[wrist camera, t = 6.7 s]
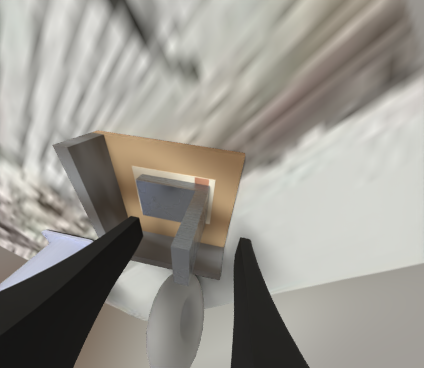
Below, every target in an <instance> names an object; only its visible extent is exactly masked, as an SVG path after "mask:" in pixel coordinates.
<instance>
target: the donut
mask: <svg viewBox="0 0 424 368" xmlns="http://www.w3.org/2000/svg"><path fill="white" fill-rule="evenodd" d="M203 320H204V301H203V294H202V289H201V285H200V283H199V281H198V279H197V277H196V276H195V275H194V274H192V275H191V279H190V283H189V286H185V285H181V284H177V283H174V279H173V274H172V275H170V276H169V277H168V278H167V279H166V280H165V282H164V283H163V284H162V285H161V287H160V289H159V291H158V293H157V295H156V297H155V299H154V301H153V305H152V308H151V311H150V314H149V320H148V326H147V332H146V335H147V336H146V341H147V342H146V343H147V344H146V348H147V356H148V360H149V364H150V368H190V366H191V364H192V362H193V361H194V359H195V357H196V353H197V350H198V347H199V344H200V340H201V335H202V330H203Z"/></svg>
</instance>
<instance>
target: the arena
mask: <svg viewBox="0 0 424 368" xmlns="http://www.w3.org/2000/svg"><path fill="white" fill-rule="evenodd" d="M53 147H54V149H55V151H56V153H57V155H58V157H59V159H60V161H61V163H62V165H63V167H64V169H65V171H66V173H67V175H68V177H69V179H70V181H71V183H72V185H73V187H74V189H75V191H76V193H77V195H78V197H79V199H80V201H81V203H82V205H83V207H84V209H85V211H86V213H87V215H88V217H89V219H90V221H91V223H92V225H93V227H94V229H95V231H96V233H97V235H98V237H99V238H100V237H101V236H103V235H104V234H106V233H107V232H108V231H110V230H111V229H113V228H114V227H116V226H117V225H118V224H120V223H121V222H123V221H124V220H126V219H127V218H129V217H130V216H135V217H139V219H140V223H141V227H142V232H143V238H142V240H141V242H140V244H139V246H138V248H137V250H136V252H135V253H134V255H133V256H132V258H131V259H130V260H132V261H136V262H141V263H145V264H150V265H154V266H159V267H163V268H168V269H172V270H173V268H172V257H171V244H172V242H173V240H174V238H175V235H176V233H177V231H178V229H179V226H180V224H181V223H180V222H175V221H171V220H166V219H161V218H156V217H151V216H146V215H143V212H142V208H141V203H140V198H139V194H138V189H137V185H136V179H137V178H138V177H139V176H140V175H141V174H146V175H151V176H157V177H163V178H168V179H174V180H180V181H185V182H191V183H197V184H202V185H208V186H210V192H209V201H208V210H207V219H206V223H205V227H204V231H203V234H202V238H201V242H200V246H199V249H198V253H197V257H196V260H195V264H194V268H193V272H192V274H194V275H199V276H203V277H208V278H212V279H217V280H220V276H221V268H222V259H223V250H224V244H225V240H226V236H227V232H228V227H229V223H230V219H231V215H232V210H233V206H234V202H235V198H236V193H237V189H238V185H239V180H240V176H241V172H242V168H243V163H244V159H245V153H240V152H234V151H227V150H221V149H214V148H208V147H201V146H195V145H188V144H182V143H175V142H169V141H162V140H156V139H149V138H143V137H136V136H130V135H123V134H117V133H110V132H104V131H95V132H92V133H89V134H86V135H82V136H79V137H76V138H73V139H70V140H67V141H64V142H61V143H58V144H54V145H53Z"/></svg>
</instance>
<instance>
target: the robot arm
mask: <svg viewBox="0 0 424 368" xmlns="http://www.w3.org/2000/svg"><path fill="white" fill-rule="evenodd" d="M42 234H43V235H44V236H45V238H46V239H47V240H48V241H49V244H48V245H47V246H46V247H45V248H43V249H42V250H41V251H40V252H38V253H37V254H36V255H35V256H34V257H32V258H31V259H30V260H29V261H28V262H26V263H25V264H24V265H23V266H22V267H21V268H19V269H18V270H17V271H16V272H14V273H13V274H12V275H11V276H10V277H8V278H7V279H6V280H5V281H3V282H2V283H1V284H0V368H73V367H74V364H75V362H76V360H77V358H78V356H79V353H80V351H81V349H82V347H83V344H84V342H85V340H86V338H87V336H88V333H89V332H90V330H91V328H92V326H93V324H94V321H95V320H96V318H97V316H98V313H99V312H100V310H101V308H102V306H103V304H104V302H105V300H106V298H107V297H108V295H109V293H110V291H111V289H112V287H113V286H114V284H115V282H116V281H117V279H118V278H119V276H120V275H121V273H122V272H123V270H124V269H125V267H126V266H127V264H128V262H129V261H130V259H131V258H132V256H133V255H134V253H135V252H136V250H137V248H138V246H139V244H140V242H141V240H142V238H143V232H142V227H141V223H140V219H139V217H135V216H130V217H129V218H127V219H126V220H124V221H123V222H121V223H120V224H118V225H117V226H116V227H114V228H113V229H111V230H110V231H108V232H107V233H106V234H104V235H103V236H101V237H100V238H98V239H97V240H95V241H93V240H90V239H85V238H81V237H76V236H71V235H67V234H62V233H58V232H53V231H48V230H44V231H42ZM231 368H309V366H308V364H307V363H306V361H305V360H304V358H303V356H302V354H301V353H300V351H299V349H298V347H297V345H296V344H295V342H294V340H293V339H292V337H291V335H290V333H289V332H288V330H287V328H286V326H285V324H284V322H283V320H282V318H281V316H280V314H279V312H278V310H277V308H276V306H275V304H274V302H273V300H272V298H271V295H270V293H269V291H268V289H267V286H266V284H265V281H264V279H263V276H262V274H261V271H260V269H259V266H258V263H257V260H256V257H255V254H254V251H253V248H252V244H251V240H250V239H246V238H241V237H240V240H239V243H238V247H237V250H236V253H235V260H234V328H233V344H232V359H231Z"/></svg>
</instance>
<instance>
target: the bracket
mask: <svg viewBox="0 0 424 368" xmlns="http://www.w3.org/2000/svg"><path fill="white" fill-rule="evenodd" d="M136 185H137V189H138V194H139V198H140V203H141V208H142V212H143V215H146V216H151V217H156V218H161V219H166V220H171V221H175V222H180V223H181V224H180V226H179V229H178V231H177V233H176V235H175V238H174V240H173V242H172V244H171V257H172V268H173V279H174V283H177V284H181V285H185V286H189V283H190V279H191V275H192V272H193V268H194V264H195V260H196V257H197V253H198V249H199V246H200V242H201V238H202V234H203V231H204V227H205V223H206V219H207V210H208V201H209V192H210V186H208V185H202V184H197V183H191V182H185V181H180V180H174V179H168V178H163V177H157V176H151V175H146V174H141V175H140V176H139V177H138V178H137V179H136Z"/></svg>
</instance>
